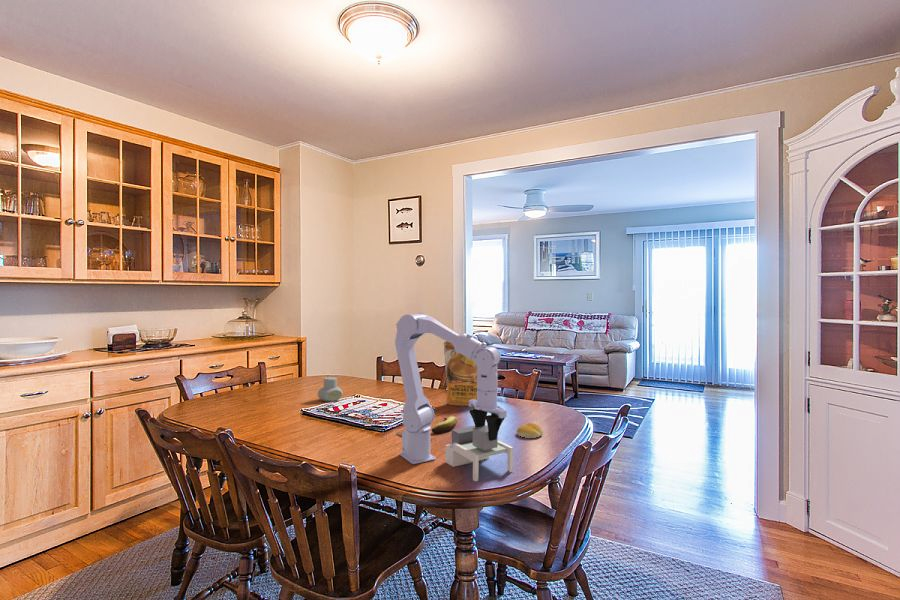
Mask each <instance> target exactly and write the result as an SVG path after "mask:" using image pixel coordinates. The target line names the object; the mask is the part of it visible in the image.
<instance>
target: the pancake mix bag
mask: <svg viewBox="0 0 900 600" xmlns="http://www.w3.org/2000/svg"><path fill="white" fill-rule="evenodd" d="M480 342H481V343H483V342H484V341H480ZM486 346H488V345H487V343H486ZM443 348H444V349H443V350H444V353H443V355H444V368H445V377H446V392H447V394H446V401H445V405H449V406H458V407H469V400H472V399H475V400H477V373H478V367H477V366H476V364H475V362H474V361H473V360H471V359H469V358H467V357H466V356H464V355H462V354H461V353H459V352H457V351H456V350H455V348H454V345H453V344H451V343H449V342H447V341H444V342H443Z"/></svg>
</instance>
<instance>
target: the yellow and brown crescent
mask: <svg viewBox="0 0 900 600" xmlns="http://www.w3.org/2000/svg"><path fill="white" fill-rule="evenodd" d="M443 420H444V421H443V422H439V423H436V424H434V426H432V428H431V429H430V430H431V431H432V432H431V431H430V433H432V434H433V433H435V434H437V435H438V434H439V435H440V434H445V433H448V432H450V431H452V430H453V429H454V428H455V427H456V424H457V422H458V419H457V417H456V416H449V417H444V418H443ZM402 433H403V431H397V433H396V435H397V436H399V437H402ZM432 440H434V441H435V443H436V442H437V439H436V438H434V437H433V438H432V437H430V442H433V441H432ZM446 441H447V442H448V444H453V443H452V441H448V440H446ZM440 445H441V446H442V445H443V443H440Z"/></svg>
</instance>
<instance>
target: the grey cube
mask: <svg viewBox="0 0 900 600" xmlns="http://www.w3.org/2000/svg"><path fill="white" fill-rule="evenodd" d="M498 440H499V437H498V435H497V438H496V440H492V441H490V440H489V435H488V425H486V424H485V426H480V427H475V428H473V446H475V447H477V448H479V449H481V450H483V451H484V450H488V449H493V448H497V443H498Z"/></svg>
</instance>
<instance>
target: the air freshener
mask: <svg viewBox="0 0 900 600" xmlns="http://www.w3.org/2000/svg"><path fill="white" fill-rule="evenodd" d="M343 394H344V391H343V390H342V388H340V387H339V386H338V378H337V377H336V376H335V377H334V376H328V377H326V376H325V377H324V378H323V387H321V388H320V389H319V390H318V391H317V397H318V398H319V399H320V400H322V401H324V402H328V403H329V402H331V403H332V402H336V401H338V400H339V399H341V398H342V397H343Z"/></svg>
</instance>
